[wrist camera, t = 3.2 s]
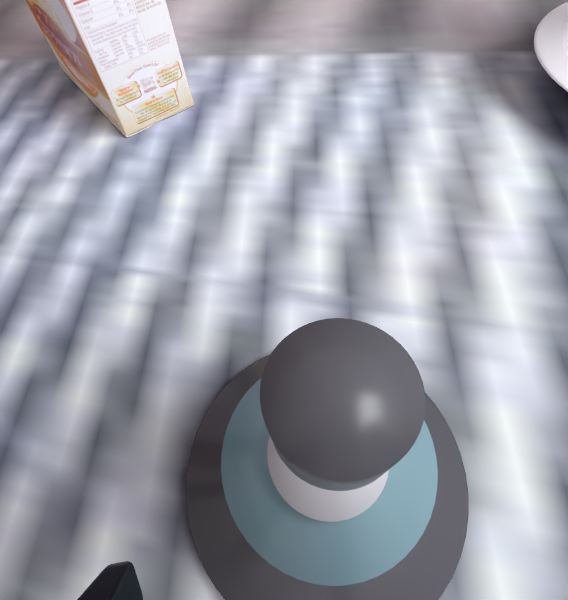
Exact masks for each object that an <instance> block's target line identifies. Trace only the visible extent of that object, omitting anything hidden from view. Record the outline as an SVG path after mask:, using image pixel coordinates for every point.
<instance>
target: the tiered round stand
mask: <svg viewBox="0 0 568 600" xmlns="http://www.w3.org/2000/svg"><path fill="white" fill-rule="evenodd" d="M269 357H270V355H269V356H267V357H264V358H262V359H260V360H259V361H257V362H255V363H254V364H252V365H250V366H249V367H247V368H246V369H245V370H243V371H242V372H241V373H240V374H238V375H237V376H236V377H235V378H234V379H233V380H232V381H231V382H230V383H229V384H228V385H227V386H226V387H225V388H224V389H223V390H222V391H221V392H220V394H219V395H218V396H217V398H216V399H215V400H214V401H213V403H212V405H211V406H210V408H209V410H208V411H207V413H206V414H205V416H204V418H203V420H202V423H201V425H200V427H199V429H198V431H197V434H196V437H195V440H194V443H193V446H192V449H191V454H190V459H189V464H188V470H187V483H186V498H187V512H188V518H189V524H190V530H191V533H192V536H193V540H194V543H195V547H196V550H197V552H198V554H199V557H200V559H201V561H202V564H203V566H204V568H205V570H206V572H207V574H208V575H209V577H210V579H211V580H212V582H213V583H214V585H215V587H216V588H217V590H218V591H219V592H220V593H221V595H222V596H223V597H224V598H225V600H438V599H439V598H440V597H441V595H442V594H443V592H444V590H445V589H446V587H447V585H448V584H449V582H450V580H451V578H452V577H453V574H454V572H455V569H456V567H457V564H458V562H459V560H460V557H461V553H462V549H463V546H464V542H465V538H466V531H467V523H468V488H467V481H466V473H465V469H464V466H463V462H462V458H461V454H460V451H459V449H458V446H457V443H456V441H455V438H454V436H453V434H452V432H451V430H450V428H449V426H448V424H447V422H446V420H445V418H444V417H443V415H442V414H441V413H440V411H439V410H438V408H437V407H436V405H435V404H434V402H433V401H432V400H431V399H430V398H429V397H428V395H427V394H426V393H425V401H426V403H425V416H424V421H423V425H422V428H421V431H420V434H419V436H418V438H417V439H416V441H415V443H414V445H413V446H412V448H411V449H410V450H409V452H408V453H407V454H406V455H405V456H404V457H403V458H402V459H401V460H400V461H399V462H398V463H396V464H395V465H394V466H393V467H392V468H390V469H389V470H388V471H387V472H386V473H384V474H383V475H382V476H381V477H379V478H378V479H377V480H375V481H374V482H372V483H370V484H368V485H366V486H364V487H361V488H358V489H354V490H349V491H331V490H325V489H321V488H318V487H315V486H313V485H310V484H309V483H307V482H305V481H303V480H301V479H300V478H299V477H297V476H296V475H295V474H294V473H293V472H292V471H291V470H290V469H289V468H287V466H286V465H285V464H284V462H283V461H282V460H281V458H280V457H279V455H278V453H277V451H276V449H275V447H274V444H273V442H272V440H271V437H270V435H269V432H268V430H267V427H266V425H265V422H264V419H263V415H262V412H261V405H260V384H261V378H262V374H263V370H264V368H265V365H266V363H267V361H268V359H269Z"/></svg>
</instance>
